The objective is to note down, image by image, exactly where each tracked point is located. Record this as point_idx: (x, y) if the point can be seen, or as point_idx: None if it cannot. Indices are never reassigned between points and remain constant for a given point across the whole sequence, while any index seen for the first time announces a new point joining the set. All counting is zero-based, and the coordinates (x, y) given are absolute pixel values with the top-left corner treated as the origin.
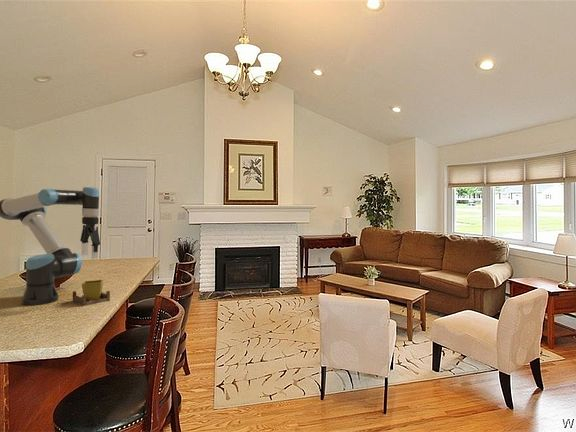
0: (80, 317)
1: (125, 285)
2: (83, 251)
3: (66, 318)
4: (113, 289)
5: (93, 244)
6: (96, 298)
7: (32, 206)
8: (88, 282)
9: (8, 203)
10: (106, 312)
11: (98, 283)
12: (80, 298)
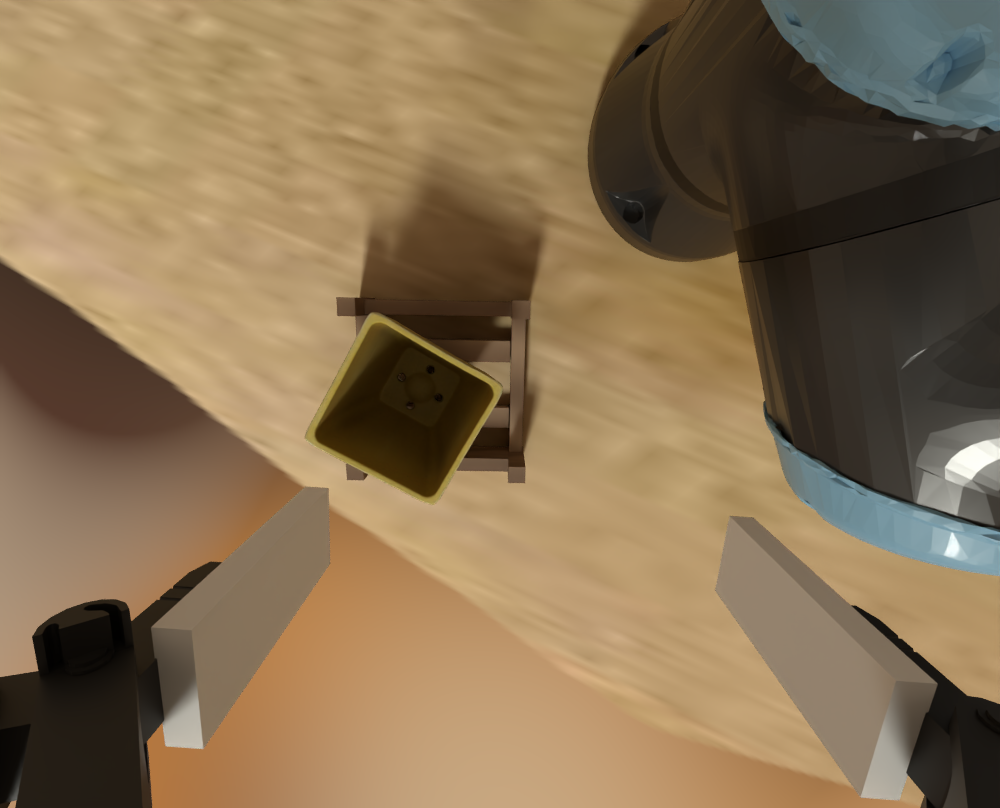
0: (114, 180)
1: (668, 688)
2: (758, 566)
3: (147, 112)
4: (624, 595)
5: (44, 663)
6: (375, 390)
7: None
8: (482, 408)
9: None
10: (121, 328)
11: (313, 420)
12: (398, 300)
